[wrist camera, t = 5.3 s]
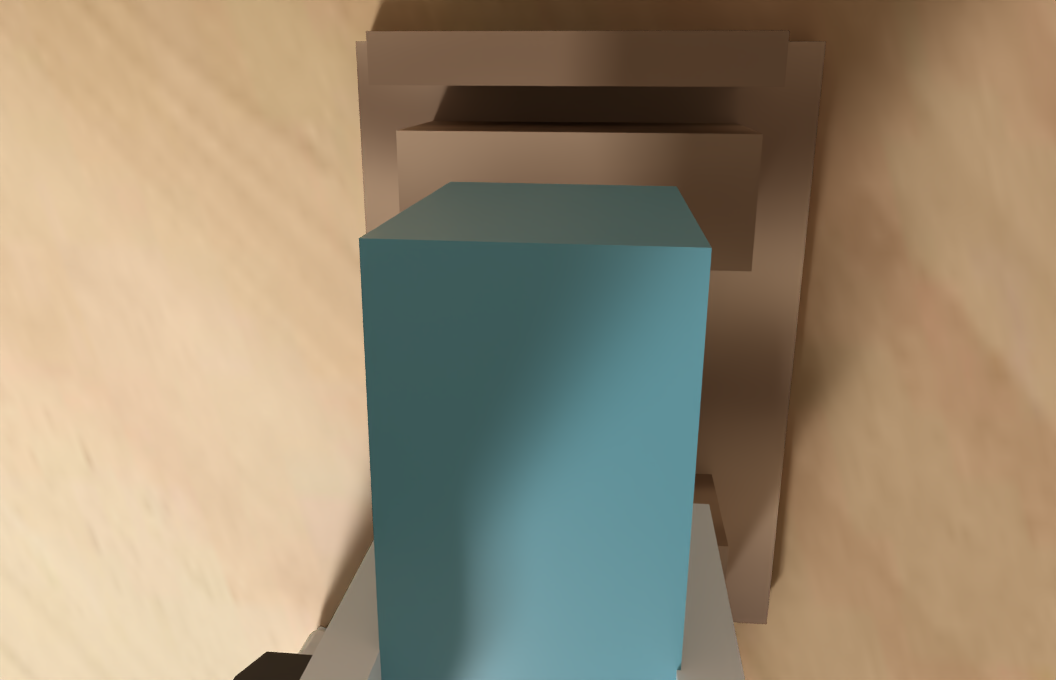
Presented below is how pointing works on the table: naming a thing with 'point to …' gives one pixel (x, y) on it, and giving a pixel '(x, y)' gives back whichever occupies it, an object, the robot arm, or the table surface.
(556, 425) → the long teal rectangular block
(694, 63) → the cradle
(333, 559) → the table surface
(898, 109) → the table surface
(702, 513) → the robot arm
